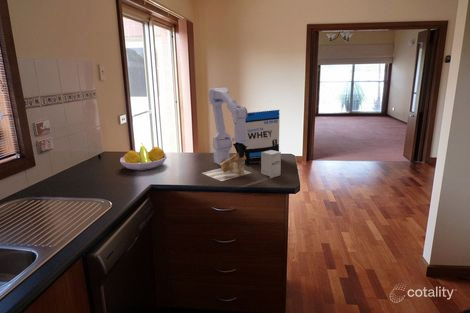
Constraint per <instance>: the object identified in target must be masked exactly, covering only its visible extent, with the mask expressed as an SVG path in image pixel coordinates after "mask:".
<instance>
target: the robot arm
mask: <svg viewBox="0 0 470 313" xmlns="http://www.w3.org/2000/svg"><path fill="white" fill-rule="evenodd" d="M229 92H230V91H229V89H228V88H227V87H217V88H215V87H213V88H212V87H211V88H209V91H208V99H209V104H211V105H212V110H213V116H214V117H213V118H214V122H215V130H216V134H215V135H214V136H213V138H212V139H213V140H212V141H213V144H212V146H213V148H214V151H213V163H214V164H216V165H218V166H220V164H221V159H225V160H227V159H229V158H230V151H231V149H232V148H233V147H234V149H235V151H236V153H238V152H239V157H240V158H243V157H244V154H245V150H246V148H247V146H249V142H248V141H247V140H248V139H246V124H245V119H246V118H247V115H248V113H249V112H248V109H247V108H246V106H244V107H243V106H241V104H239V103H238V101H237V100H236V99H233V98H232V97H231V96H230V94H229ZM223 104H226V107H227V108H226V109H228V111H229V112H230V113H231V117H232V122H233V123H234V124H233V126H234V137H232V138H231V135H230V134H229V133H227V132H226V125H225V120H224V113H223V107H222V105H223ZM233 142H234V143H233Z"/></svg>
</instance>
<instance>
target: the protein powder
mask: <svg viewBox="0 0 470 313" xmlns="http://www.w3.org/2000/svg"><path fill="white" fill-rule="evenodd" d="M245 124H246V139H248V140H247V141H248V142H249V146H247V148H246V150H245V157H246V159H245V160H244V166H246V164H248V165H249V166H256V165H257V164H258V165H261V152H265V151H269V150H273V151H278V152H280V109H272V110H264V111H263V110H262V111H253V112H248V115H247V118H246V119H245ZM248 165H247V166H248Z"/></svg>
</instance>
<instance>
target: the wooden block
mask: <svg viewBox="0 0 470 313" xmlns="http://www.w3.org/2000/svg"><path fill="white" fill-rule="evenodd" d="M245 159H246V157H245V154H244V157H243V158H240V157H239V152H238V153H237V152H236V153H235V154H233V155H232V156H229V159H227V160H225V161H224V162H222V163H221V164H220V165H219V166H220V167H221V168H222V170H223V172H224V173H226V172H227V171H229V170H230V169H232V168H233V165H232V162H235V163H237V164H238V165H240V163H243V162H245Z"/></svg>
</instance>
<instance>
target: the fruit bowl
mask: <svg viewBox="0 0 470 313" xmlns="http://www.w3.org/2000/svg"><path fill="white" fill-rule="evenodd" d="M140 144H141V146H140V149H139V152H137V151H136V150H129V151H127V153H125V154H123V156H122V157H120V161H119V162H120V164H121V165H122V166H124V167H125V168H126V169H129V170H136V171H141V172H142V171H147V170H151V169H156V168H157V167H160V166H161V165H163V164H164V162H165V161H166V160H167V158H168V156H167V154H166V153H165V152H164V150H163V149H162V148H160V147H159V146H154V147H152V149H150V151H148V150H147V148H146V147H145V145H144V143H143V142H142V143H140Z"/></svg>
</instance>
